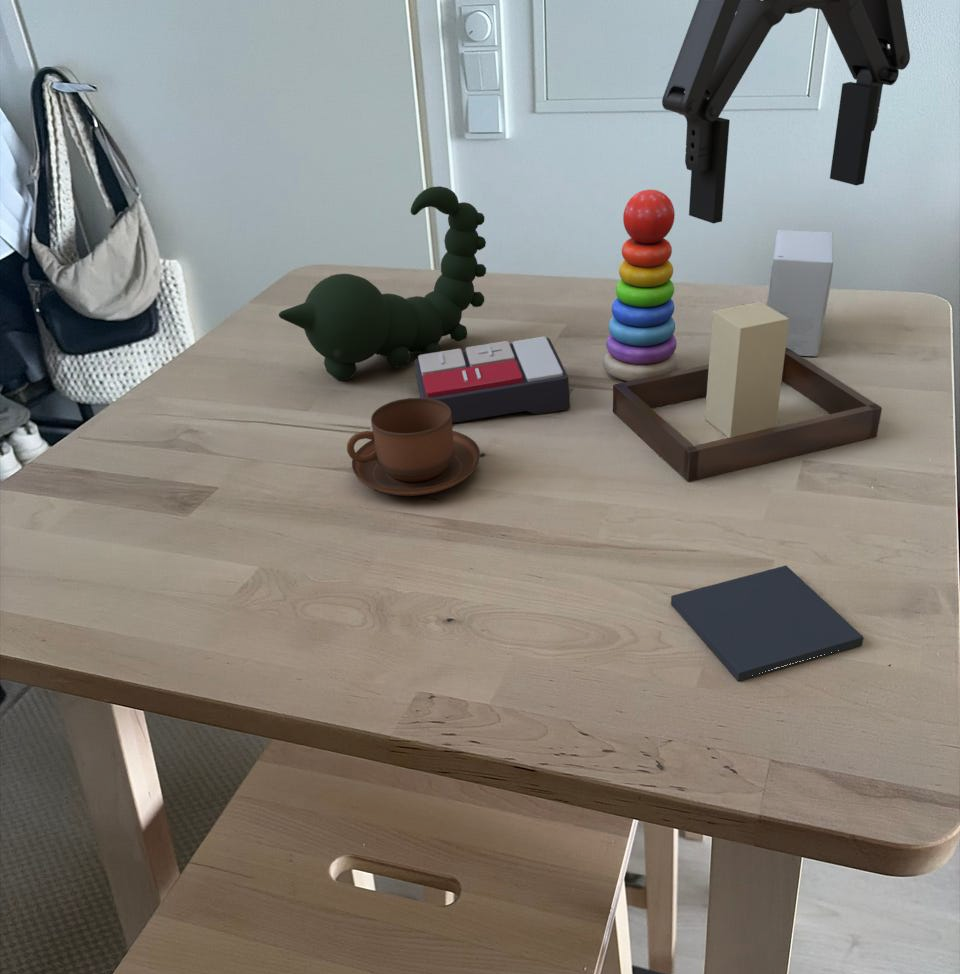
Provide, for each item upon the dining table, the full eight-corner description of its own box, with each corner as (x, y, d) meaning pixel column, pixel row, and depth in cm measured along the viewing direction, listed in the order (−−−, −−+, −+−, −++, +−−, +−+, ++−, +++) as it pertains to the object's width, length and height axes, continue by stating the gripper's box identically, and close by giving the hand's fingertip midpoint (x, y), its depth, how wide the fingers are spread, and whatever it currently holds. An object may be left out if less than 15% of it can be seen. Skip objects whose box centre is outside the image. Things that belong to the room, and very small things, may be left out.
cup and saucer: (394, 522, 91) (385, 459, 87) (332, 471, 99) (322, 412, 95) (506, 478, 96) (502, 418, 92) (438, 433, 104) (433, 376, 100)
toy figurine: (455, 338, 128) (268, 377, 116) (455, 173, 117) (249, 198, 105) (498, 361, 121) (305, 404, 110) (502, 189, 110) (288, 217, 99)
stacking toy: (596, 382, 111) (598, 200, 99) (611, 353, 117) (614, 178, 105) (670, 387, 109) (680, 202, 97) (681, 357, 115) (692, 179, 103)
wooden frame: (783, 374, 110) (787, 347, 108) (876, 436, 98) (882, 407, 96) (612, 411, 105) (612, 384, 103) (687, 482, 93) (689, 452, 91)
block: (748, 408, 104) (760, 301, 97) (775, 429, 100) (789, 318, 93) (704, 418, 103) (712, 310, 96) (730, 439, 99) (740, 328, 92)
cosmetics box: (820, 357, 112) (834, 260, 106) (759, 355, 114) (770, 259, 107) (821, 322, 120) (834, 229, 114) (764, 320, 122) (774, 228, 115)
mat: (784, 573, 81) (786, 565, 80) (862, 645, 73) (864, 636, 73) (670, 603, 79) (670, 595, 78) (737, 681, 71) (739, 673, 71)
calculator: (412, 352, 111) (548, 329, 112) (418, 388, 114) (551, 367, 114) (421, 394, 103) (568, 370, 103) (427, 433, 105) (571, 409, 106)
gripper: (914, -180, 69) (863, 158, 82) (612, -151, 60) (608, 223, 74) (1010, -186, 64) (939, 176, 77) (694, -155, 55) (675, 248, 68)
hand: (778, 199), depth 75 cm, fingers open, 13 cm apart
